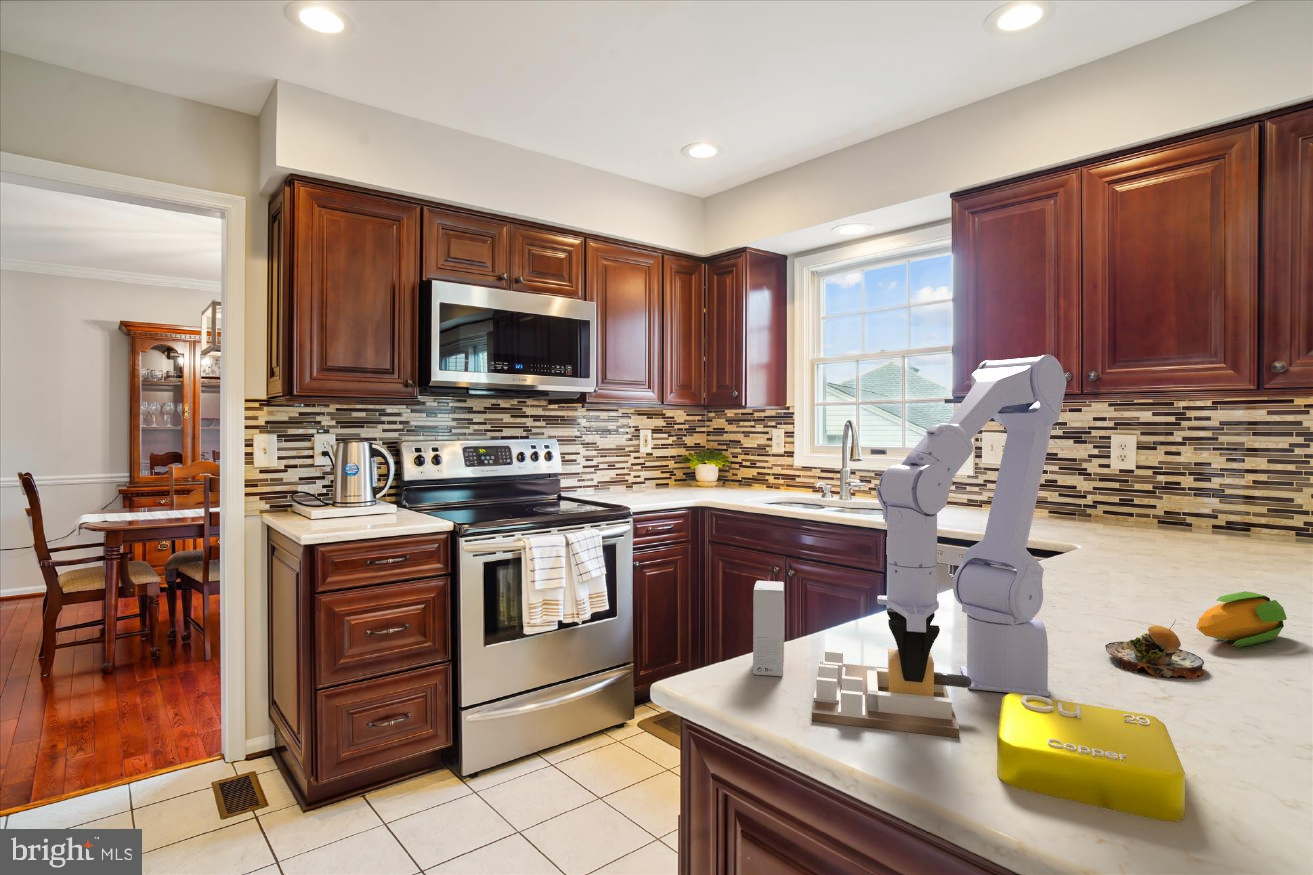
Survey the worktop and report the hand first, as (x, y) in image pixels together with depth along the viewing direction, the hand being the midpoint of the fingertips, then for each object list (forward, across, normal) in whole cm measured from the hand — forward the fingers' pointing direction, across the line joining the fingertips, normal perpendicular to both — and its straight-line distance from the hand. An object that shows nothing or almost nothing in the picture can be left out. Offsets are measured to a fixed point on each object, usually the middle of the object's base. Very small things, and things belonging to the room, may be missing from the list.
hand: (911, 674), depth 84 cm
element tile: (+5, +11, +16) cm, 19 cm away
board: (+4, -2, -4) cm, 6 cm away
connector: (+2, 0, +2) cm, 3 cm away
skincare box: (+4, -9, -18) cm, 21 cm away
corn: (+5, -42, +52) cm, 67 cm away
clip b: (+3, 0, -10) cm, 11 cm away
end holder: (+3, 0, 0) cm, 3 cm away
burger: (+5, -26, +34) cm, 43 cm away
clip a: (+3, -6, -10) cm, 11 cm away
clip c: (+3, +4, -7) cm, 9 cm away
